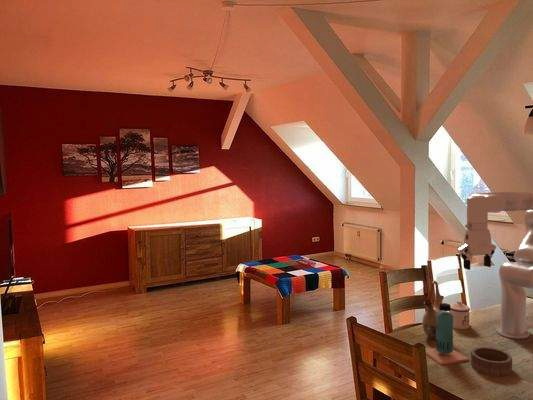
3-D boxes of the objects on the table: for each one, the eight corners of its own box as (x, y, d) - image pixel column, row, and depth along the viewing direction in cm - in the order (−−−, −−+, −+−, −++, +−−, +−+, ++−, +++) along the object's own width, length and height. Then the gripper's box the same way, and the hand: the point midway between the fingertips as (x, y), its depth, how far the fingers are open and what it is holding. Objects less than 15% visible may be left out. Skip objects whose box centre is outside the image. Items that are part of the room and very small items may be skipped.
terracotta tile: (448, 347, 176) (448, 346, 176) (468, 360, 164) (468, 358, 164) (422, 351, 173) (422, 349, 173) (440, 364, 162) (440, 362, 161)
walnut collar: (492, 357, 166) (493, 345, 166) (519, 373, 154) (520, 360, 153) (463, 362, 163) (463, 349, 163) (488, 378, 151) (489, 364, 150)
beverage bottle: (447, 349, 172) (448, 300, 171) (456, 357, 166) (457, 306, 164) (432, 350, 172) (432, 301, 170) (440, 358, 165) (441, 307, 164)
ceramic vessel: (437, 346, 178) (437, 286, 176) (415, 340, 184) (416, 283, 182) (451, 334, 190) (452, 278, 188) (430, 329, 196) (431, 275, 194)
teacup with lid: (465, 331, 193) (466, 305, 192) (445, 326, 199) (445, 301, 198) (474, 323, 201) (475, 299, 200) (454, 319, 208) (455, 295, 207)
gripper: (465, 229, 169) (465, 272, 170) (502, 225, 173) (502, 267, 174) (452, 226, 176) (452, 267, 177) (488, 223, 180) (488, 263, 181)
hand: (477, 267), depth 176 cm, fingers open, 9 cm apart
